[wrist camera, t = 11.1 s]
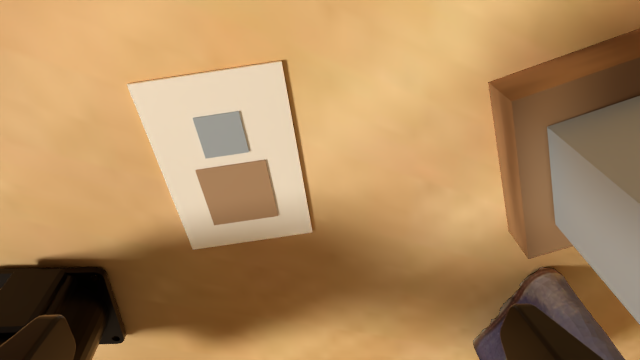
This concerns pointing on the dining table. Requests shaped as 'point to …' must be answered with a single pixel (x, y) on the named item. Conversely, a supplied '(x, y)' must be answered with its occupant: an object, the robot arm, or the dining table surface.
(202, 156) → the page
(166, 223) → the dining table surface
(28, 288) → the robot arm
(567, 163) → the tower block
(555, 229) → the base brick
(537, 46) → the dining table surface
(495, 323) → the flask
